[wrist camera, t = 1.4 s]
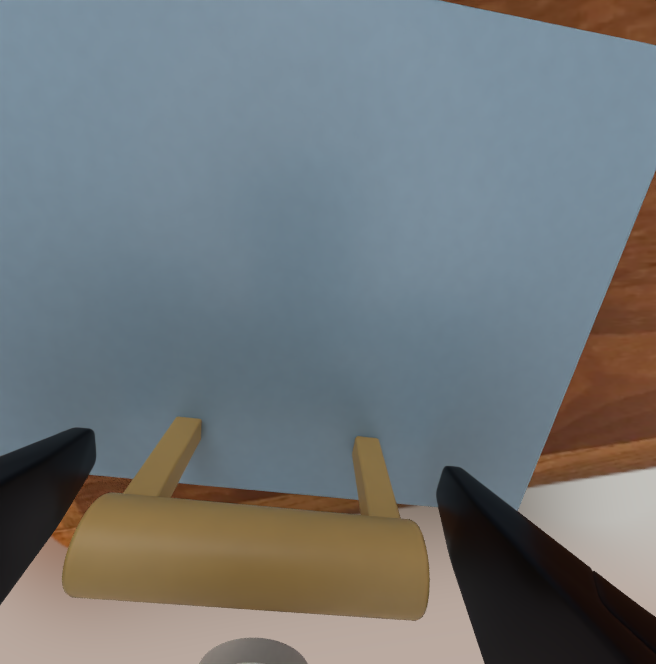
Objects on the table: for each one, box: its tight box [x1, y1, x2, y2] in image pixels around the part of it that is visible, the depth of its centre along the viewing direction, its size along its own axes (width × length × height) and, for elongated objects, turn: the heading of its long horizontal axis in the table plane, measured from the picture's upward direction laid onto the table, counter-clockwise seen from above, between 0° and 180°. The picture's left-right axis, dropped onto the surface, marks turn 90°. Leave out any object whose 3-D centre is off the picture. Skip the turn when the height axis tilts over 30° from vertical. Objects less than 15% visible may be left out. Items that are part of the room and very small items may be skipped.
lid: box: [0, 0, 656, 621], centre depth 7 cm, size 12×16×5 cm
